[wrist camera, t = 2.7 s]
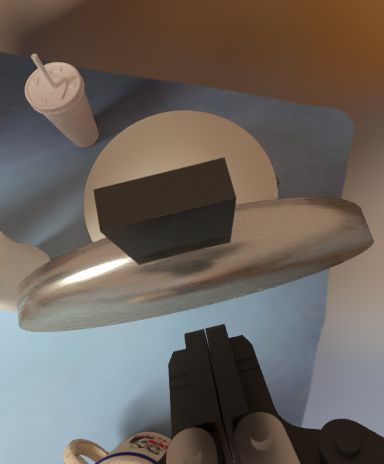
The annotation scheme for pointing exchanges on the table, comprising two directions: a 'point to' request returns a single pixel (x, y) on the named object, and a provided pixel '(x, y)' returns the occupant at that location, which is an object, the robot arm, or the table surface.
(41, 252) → the water bottle
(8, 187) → the table surface
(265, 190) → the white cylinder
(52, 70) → the smoothie
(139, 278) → the cooker lid
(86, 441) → the teacup with lid
